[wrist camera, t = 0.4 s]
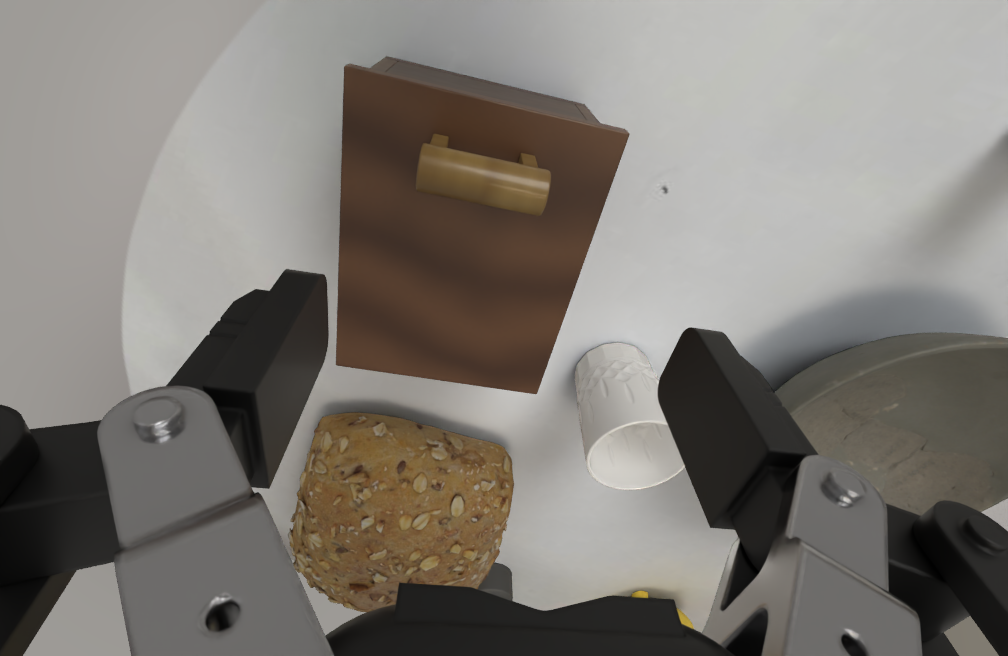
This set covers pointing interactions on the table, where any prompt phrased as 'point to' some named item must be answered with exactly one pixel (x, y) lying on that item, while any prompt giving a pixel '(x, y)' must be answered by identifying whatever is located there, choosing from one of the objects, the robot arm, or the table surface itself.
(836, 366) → the bowl
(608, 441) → the white cup
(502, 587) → the candle holder
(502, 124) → the lid
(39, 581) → the robot arm
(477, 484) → the bread
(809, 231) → the table surface
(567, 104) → the compartment
